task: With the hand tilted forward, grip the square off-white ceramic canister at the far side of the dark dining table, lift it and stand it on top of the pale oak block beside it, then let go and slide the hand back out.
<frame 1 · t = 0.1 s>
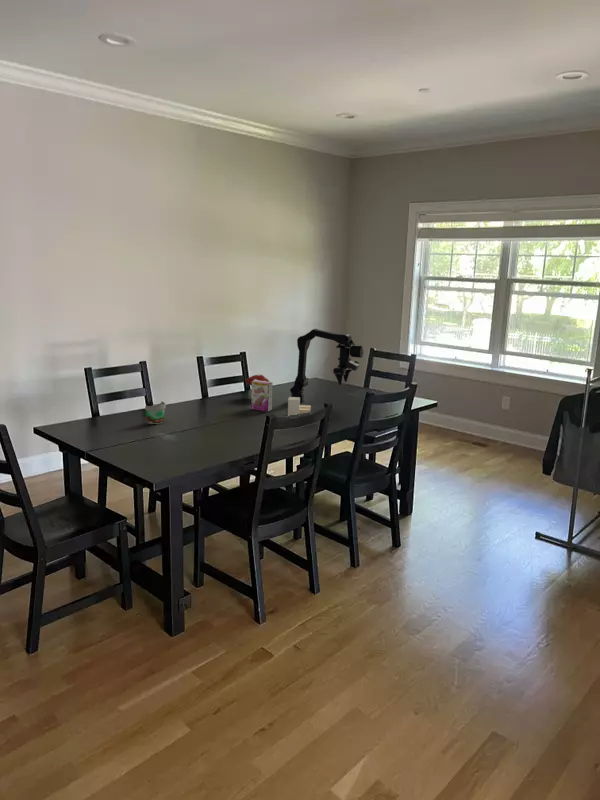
hand: (343, 383, 354), 15 cm above the table, tool pointing down, fingers open, 9 cm apart
oak block: (300, 412, 347), on the table
decorative mushroom: (258, 399, 372), on the table
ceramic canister: (293, 416, 337), on the table
food container: (158, 423, 317), on the table
candy bar box: (261, 410, 348), on the table
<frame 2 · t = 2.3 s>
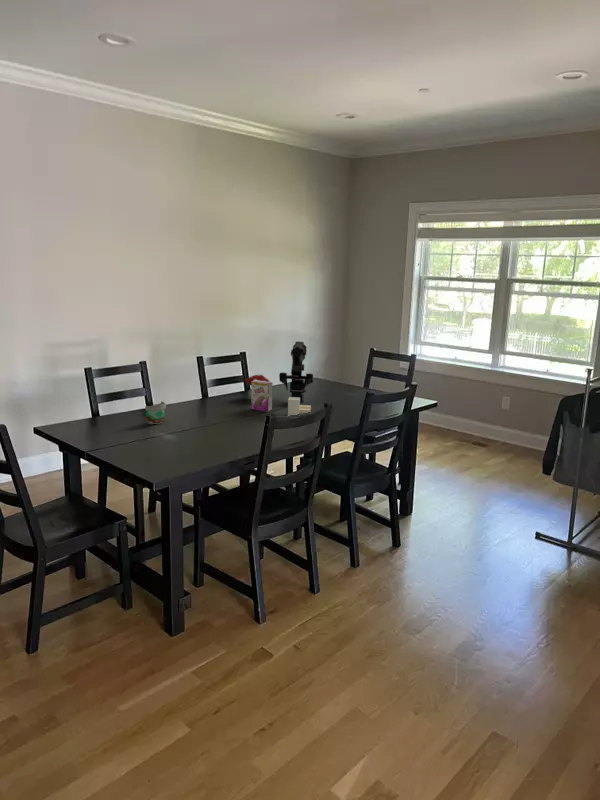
hand: (295, 390, 342), 12 cm above the table, tool tilted 45°, fingers open, 9 cm apart
nothing on the table moved.
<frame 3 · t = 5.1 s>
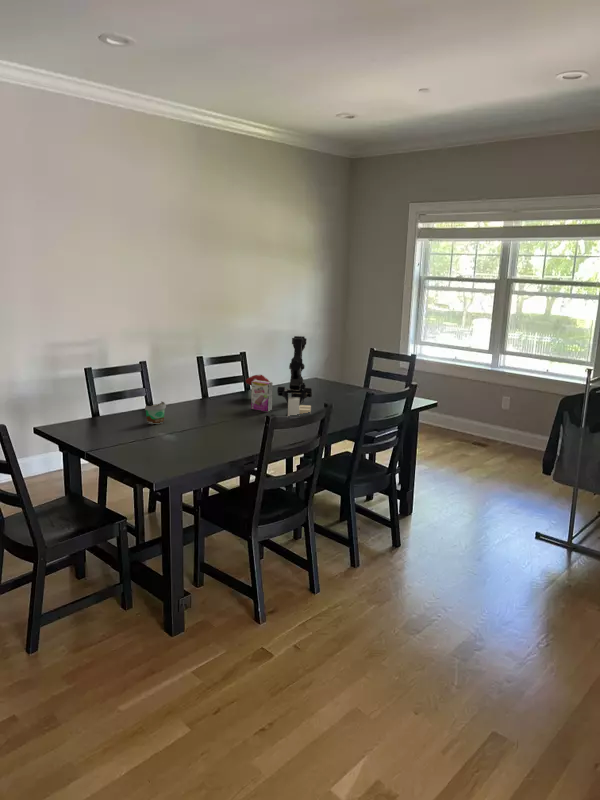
hand: (293, 405, 334), 7 cm above the table, tool tilted 45°, fingers closed on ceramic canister, 6 cm apart
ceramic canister: (293, 416, 337), on the table, touching gripper
everything else where it was.
when the fingers open (10 cm above the table, at t = 8.7 s): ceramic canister drops 1 cm, resting on oak block.
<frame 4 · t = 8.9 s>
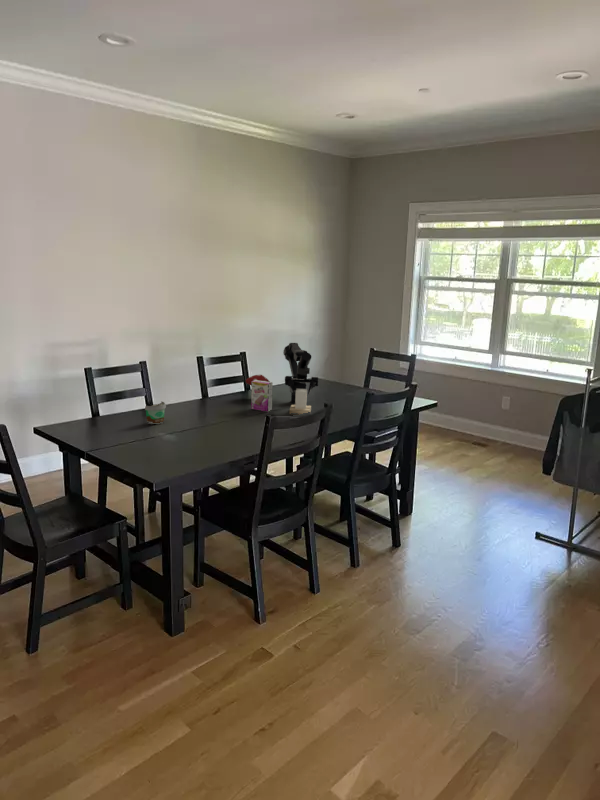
hand: (300, 393, 343), 11 cm above the table, tool tilted 45°, fingers open, 8 cm apart
oak block: (300, 412, 347), on the table, touching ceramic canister
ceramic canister: (300, 407, 346), point 2 cm above the table, touching oak block
everything else where it was.
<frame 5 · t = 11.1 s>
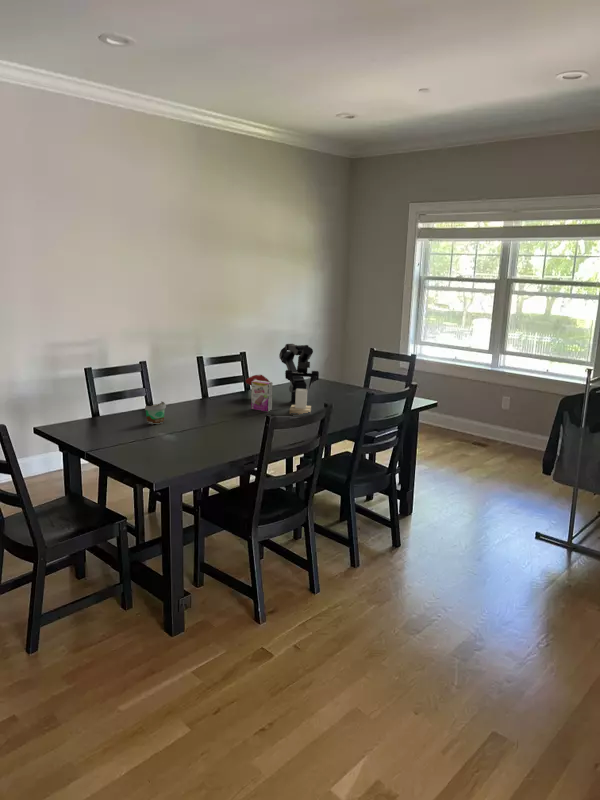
hand: (301, 387, 345), 13 cm above the table, tool tilted 45°, fingers open, 9 cm apart
nothing on the table moved.
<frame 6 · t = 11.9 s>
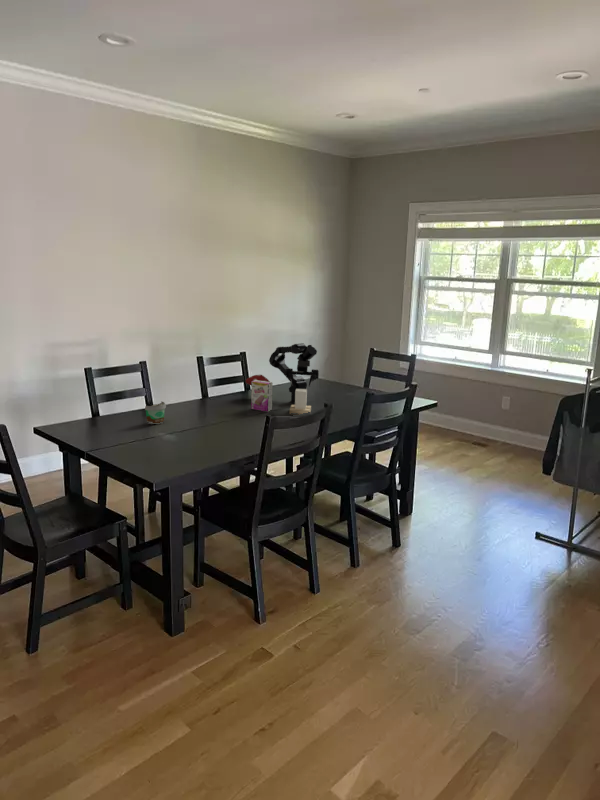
hand: (301, 386, 348), 14 cm above the table, tool tilted 45°, fingers open, 9 cm apart
oak block: (300, 412, 347), on the table
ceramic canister: (300, 407, 346), point 2 cm above the table
everything else where it was.
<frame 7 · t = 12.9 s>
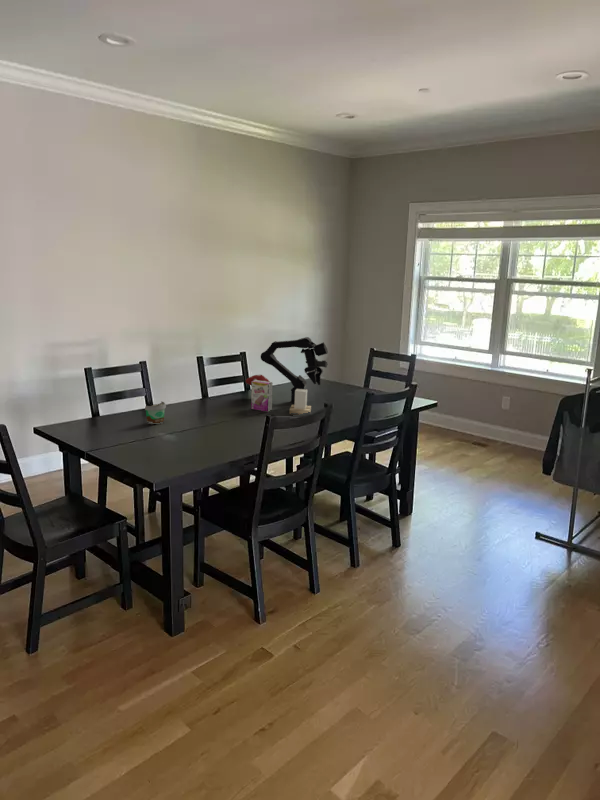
hand: (317, 384, 358), 13 cm above the table, tool tilted 25°, fingers open, 9 cm apart
oak block: (300, 412, 347), on the table, touching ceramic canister
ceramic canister: (300, 407, 346), point 2 cm above the table, touching oak block
everything else where it was.
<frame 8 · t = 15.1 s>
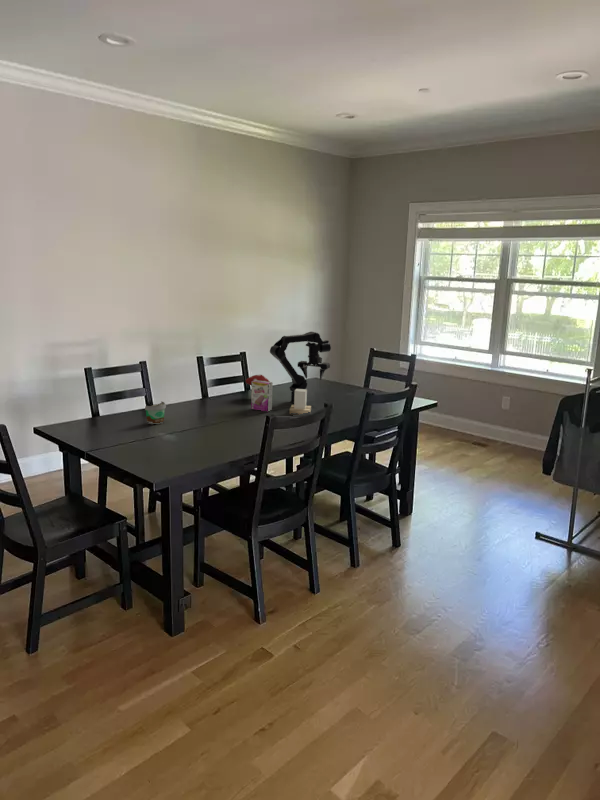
hand: (313, 379, 370), 13 cm above the table, tool pointing down, fingers open, 9 cm apart
nothing on the table moved.
at the end: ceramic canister inside the target area on the oak block (0.2 cm from its centre), point 3.0 cm above the oak block's base; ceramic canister tilted 0°; the gripper is holding nothing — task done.
